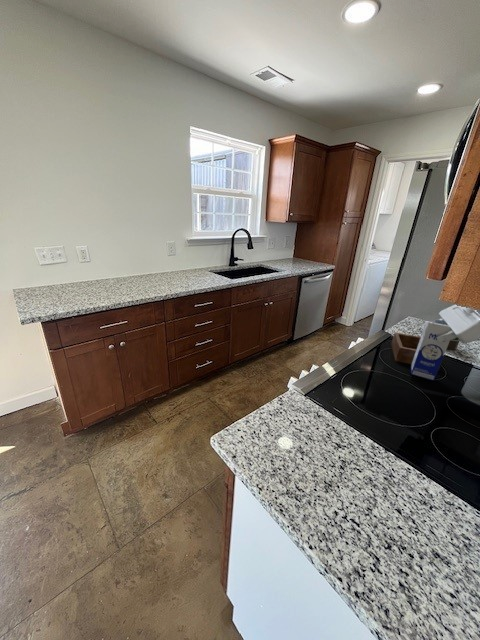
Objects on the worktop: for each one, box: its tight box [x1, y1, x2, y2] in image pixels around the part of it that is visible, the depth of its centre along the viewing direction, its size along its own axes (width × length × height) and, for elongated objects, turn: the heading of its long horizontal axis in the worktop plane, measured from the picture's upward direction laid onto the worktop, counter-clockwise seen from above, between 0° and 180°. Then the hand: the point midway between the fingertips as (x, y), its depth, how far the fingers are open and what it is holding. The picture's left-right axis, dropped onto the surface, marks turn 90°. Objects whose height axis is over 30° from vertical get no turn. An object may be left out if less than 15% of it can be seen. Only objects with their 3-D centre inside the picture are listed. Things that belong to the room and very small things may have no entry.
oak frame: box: [390, 332, 445, 371], centre depth 105 cm, size 14×14×6 cm
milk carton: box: [410, 319, 451, 382], centre depth 90 cm, size 7×7×20 cm
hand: (434, 334), depth 88 cm, fingers closed on milk carton, 7 cm apart
